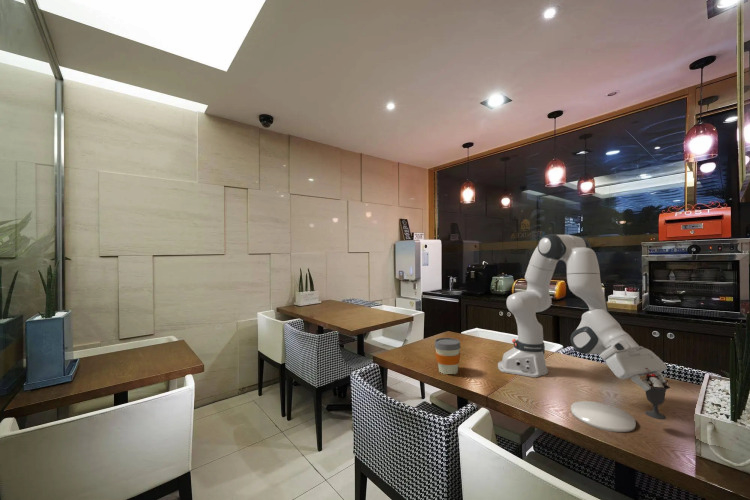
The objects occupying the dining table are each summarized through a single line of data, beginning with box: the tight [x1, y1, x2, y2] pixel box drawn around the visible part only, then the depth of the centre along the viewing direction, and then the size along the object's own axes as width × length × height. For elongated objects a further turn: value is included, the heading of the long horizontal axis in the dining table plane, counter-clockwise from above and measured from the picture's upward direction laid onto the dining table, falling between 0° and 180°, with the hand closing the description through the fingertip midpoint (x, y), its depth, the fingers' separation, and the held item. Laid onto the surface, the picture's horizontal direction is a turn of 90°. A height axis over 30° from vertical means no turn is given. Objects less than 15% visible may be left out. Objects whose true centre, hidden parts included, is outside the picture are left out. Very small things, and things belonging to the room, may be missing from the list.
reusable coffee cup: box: [434, 337, 461, 375], centre depth 149 cm, size 13×12×15 cm
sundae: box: [641, 368, 671, 420], centre depth 97 cm, size 7×7×15 cm
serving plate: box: [570, 400, 637, 433], centre depth 105 cm, size 18×18×1 cm
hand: (657, 388), depth 97 cm, fingers closed on sundae, 7 cm apart
